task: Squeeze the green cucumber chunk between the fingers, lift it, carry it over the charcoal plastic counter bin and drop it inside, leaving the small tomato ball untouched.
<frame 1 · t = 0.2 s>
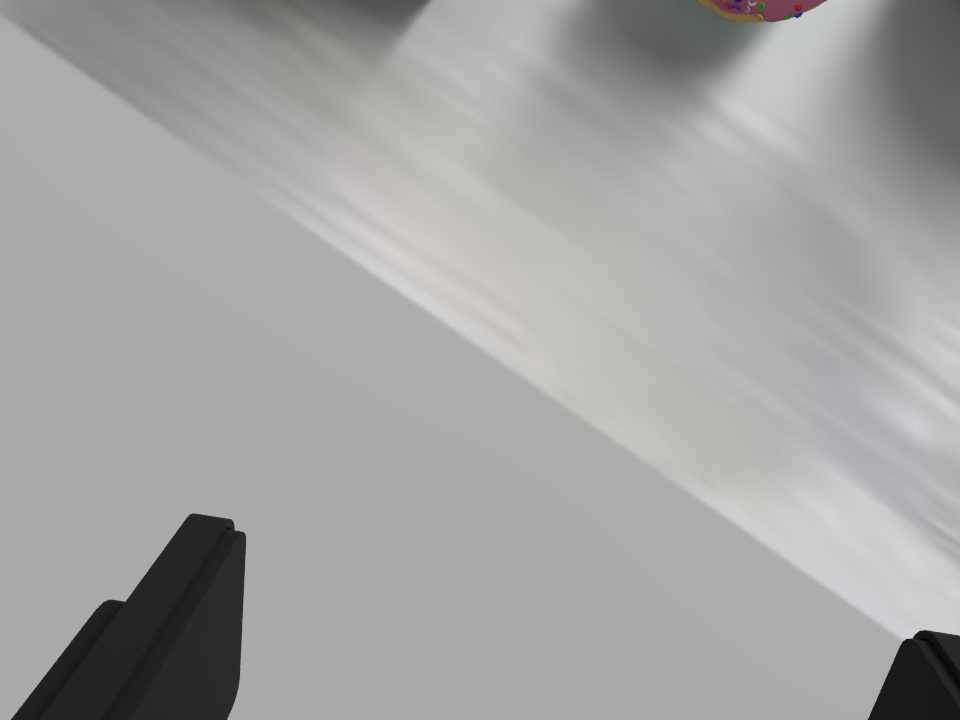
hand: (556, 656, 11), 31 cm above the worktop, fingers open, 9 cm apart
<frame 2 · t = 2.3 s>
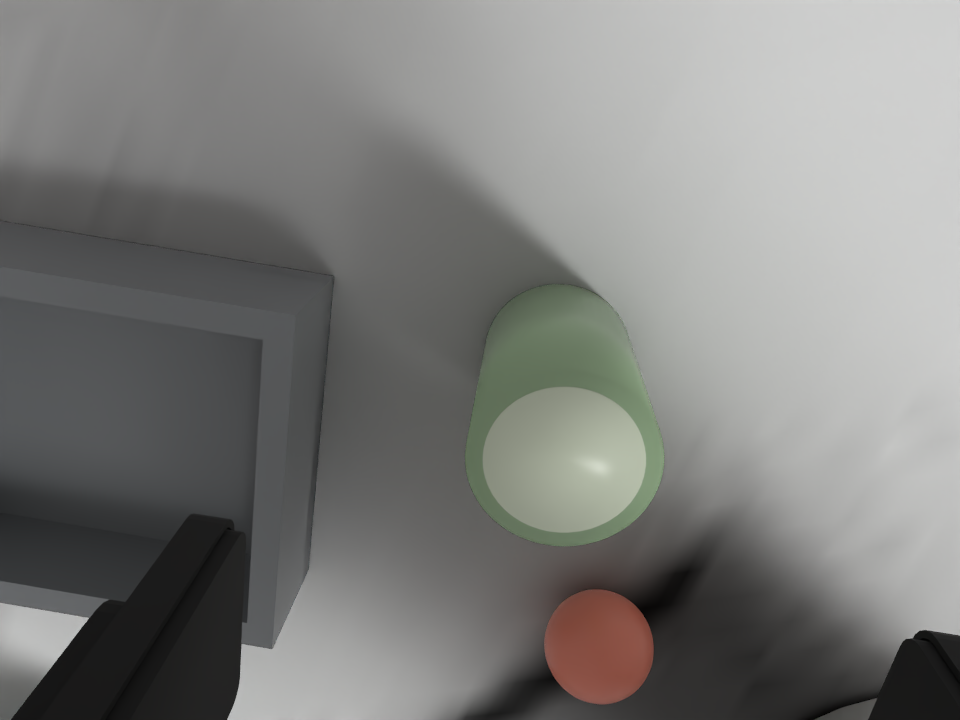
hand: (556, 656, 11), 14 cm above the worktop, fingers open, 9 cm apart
tomato ball: (594, 610, 27), on the worktop
bin: (138, 403, 26), on the worktop
cucumber chunk: (556, 354, 24), on the worktop
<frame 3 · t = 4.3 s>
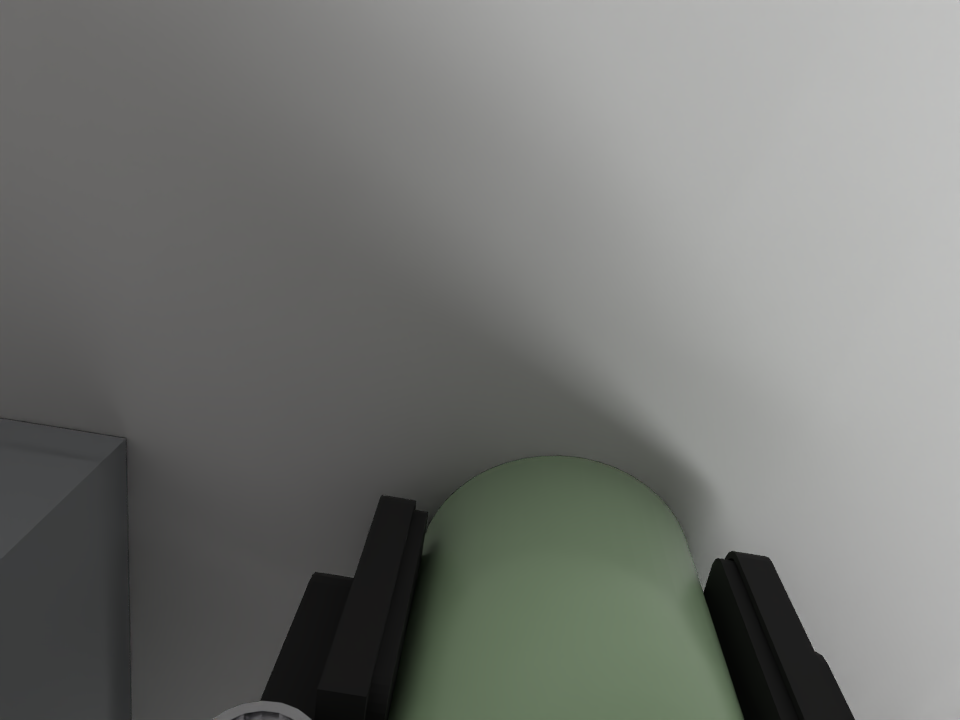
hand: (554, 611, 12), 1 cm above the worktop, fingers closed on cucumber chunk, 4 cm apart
cucumber chunk: (553, 575, 13), on the worktop, touching gripper
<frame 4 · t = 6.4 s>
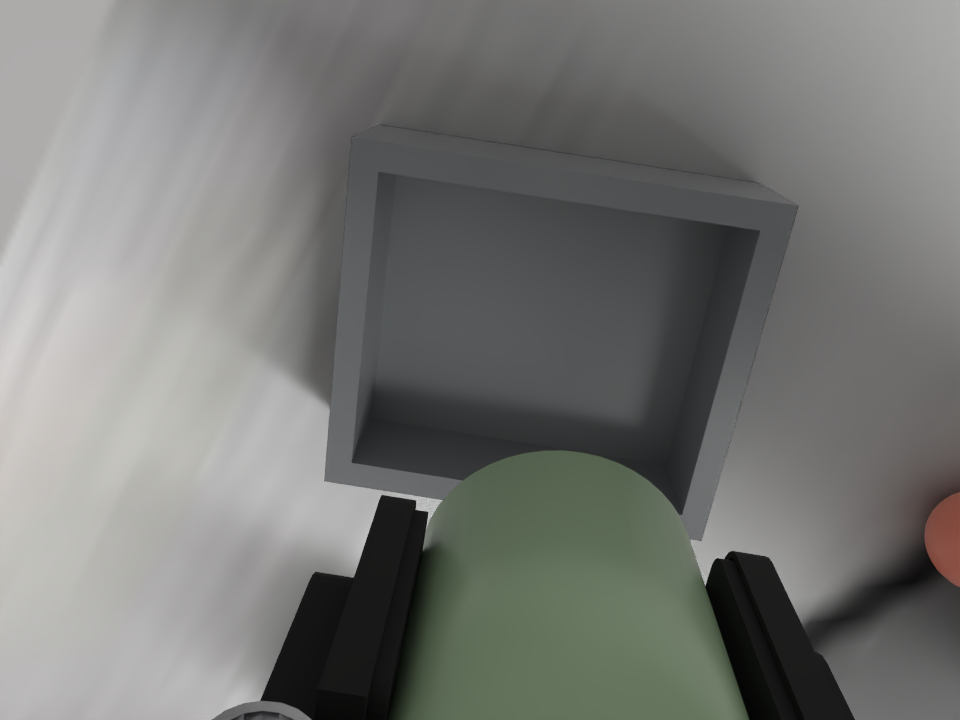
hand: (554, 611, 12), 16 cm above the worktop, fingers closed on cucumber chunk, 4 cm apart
tomato ball: (958, 513, 28), on the worktop
bin: (540, 313, 27), on the worktop
cucumber chunk: (554, 571, 13), point 15 cm above the worktop, touching gripper
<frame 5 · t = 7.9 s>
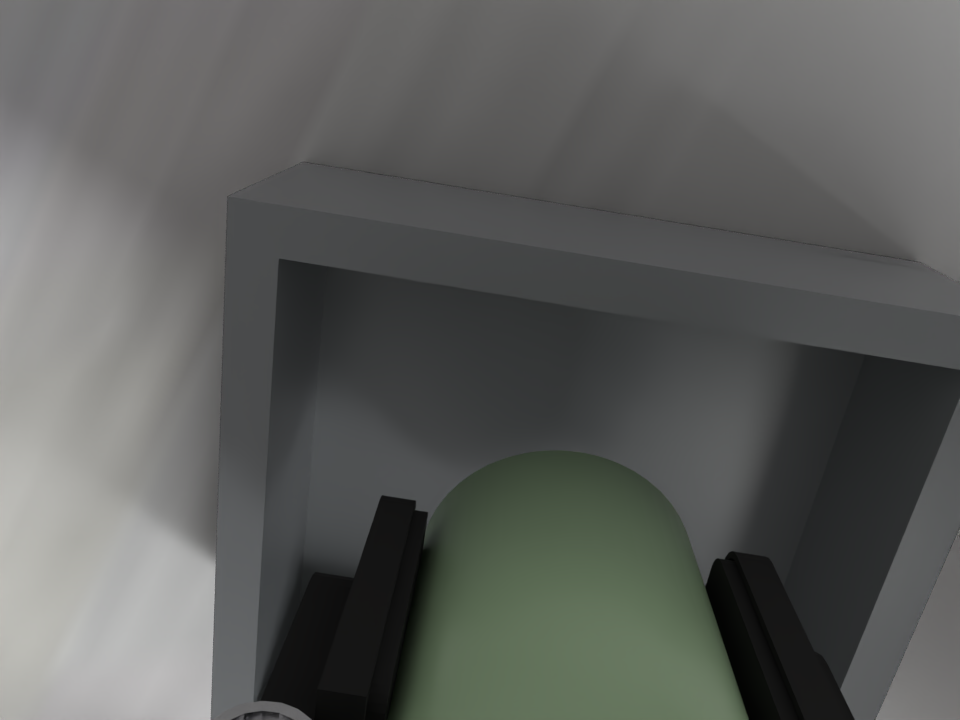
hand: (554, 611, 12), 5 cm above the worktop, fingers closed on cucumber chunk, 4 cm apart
bin: (559, 453, 17), on the worktop
cucumber chunk: (554, 571, 13), point 5 cm above the worktop, touching gripper
when the fingers open (4 cm above the worktop, at t = 8.8 s): cucumber chunk drops 3 cm, resting on bin.
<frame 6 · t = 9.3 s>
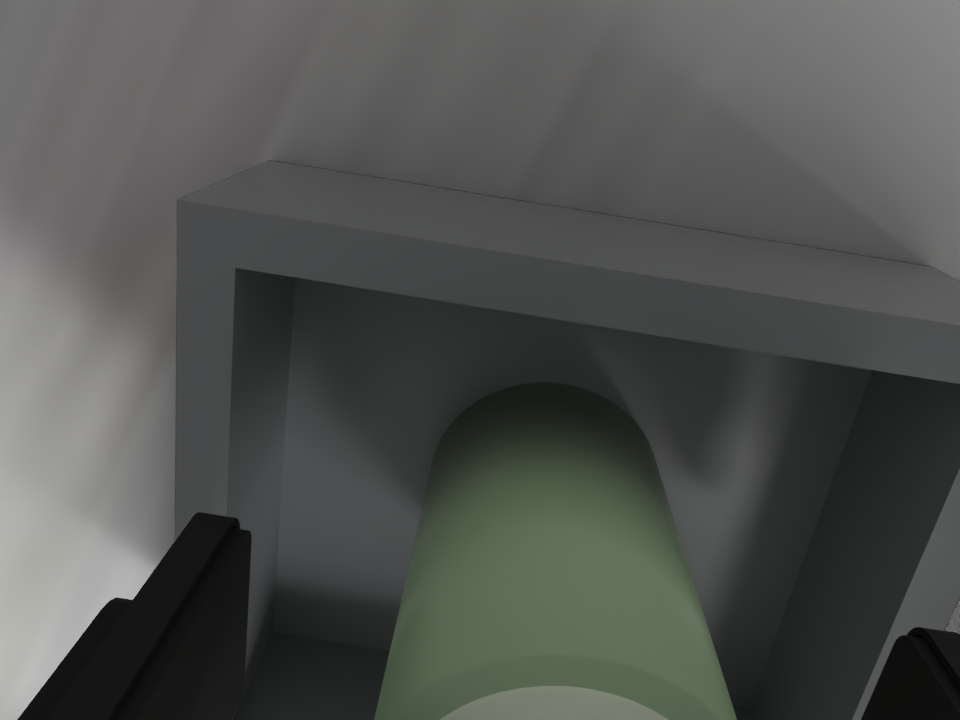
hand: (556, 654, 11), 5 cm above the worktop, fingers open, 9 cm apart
bin: (548, 470, 16), on the worktop
cucumber chunk: (543, 486, 15), point 1 cm above the worktop, touching bin
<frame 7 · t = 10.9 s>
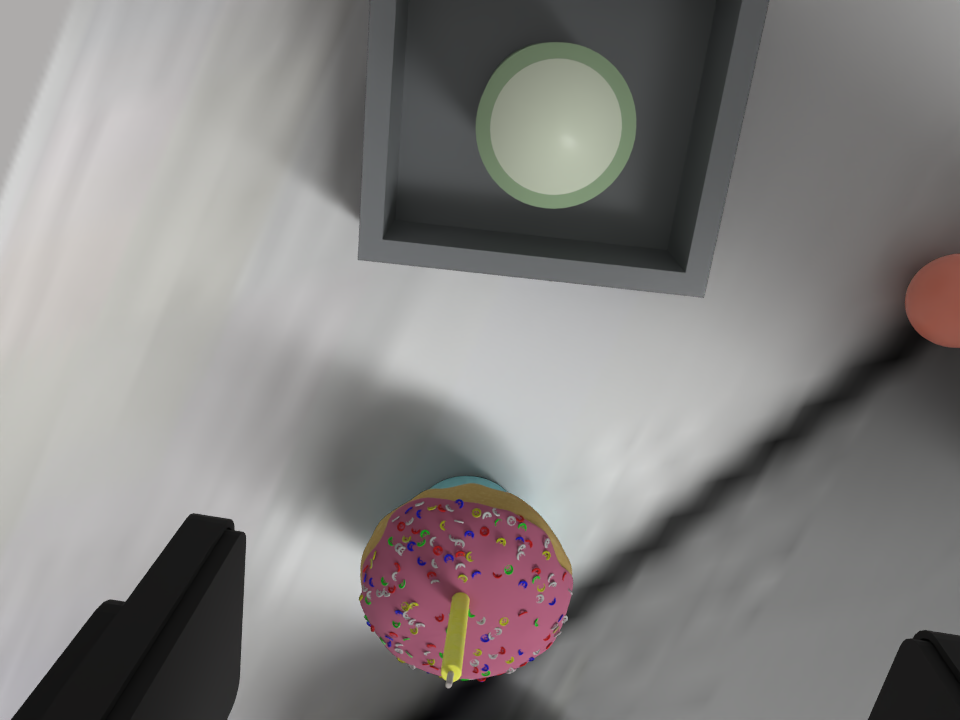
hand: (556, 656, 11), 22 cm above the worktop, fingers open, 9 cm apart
tomato ball: (934, 287, 31), on the worktop
bin: (546, 109, 29), on the worktop
cupcake: (470, 519, 36), on the worktop
cucumber chunk: (544, 108, 28), point 1 cm above the worktop, touching bin
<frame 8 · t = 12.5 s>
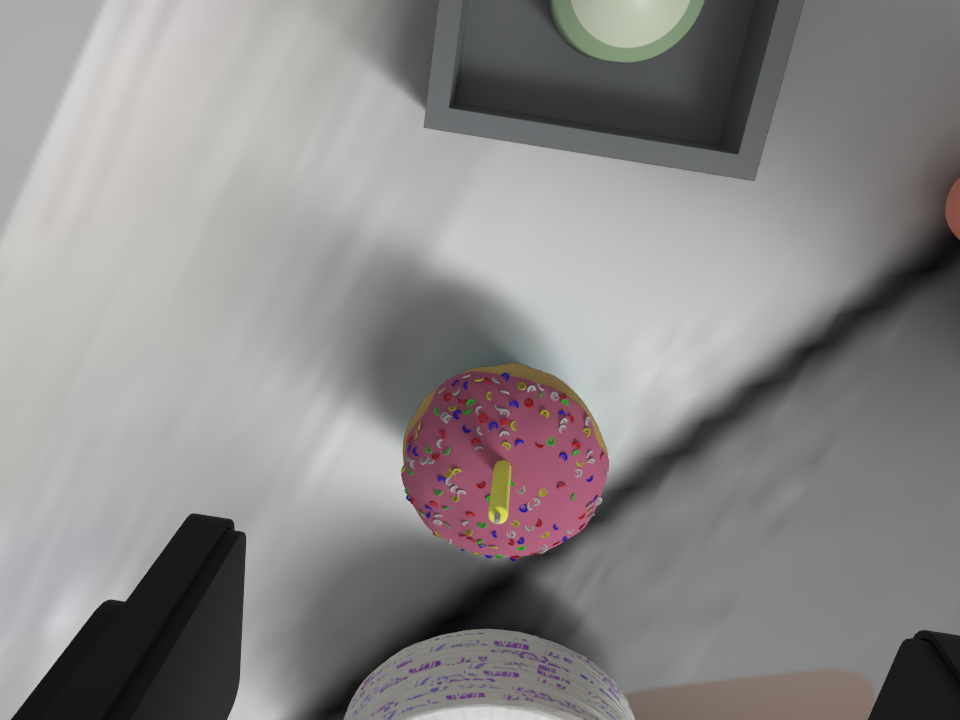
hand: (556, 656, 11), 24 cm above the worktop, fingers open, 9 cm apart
bin: (609, 0, 30), on the worktop
paper bowls: (493, 698, 43), on the worktop
cupcake: (507, 415, 37), on the worktop
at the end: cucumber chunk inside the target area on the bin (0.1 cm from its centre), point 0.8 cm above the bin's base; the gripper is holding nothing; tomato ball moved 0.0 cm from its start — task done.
